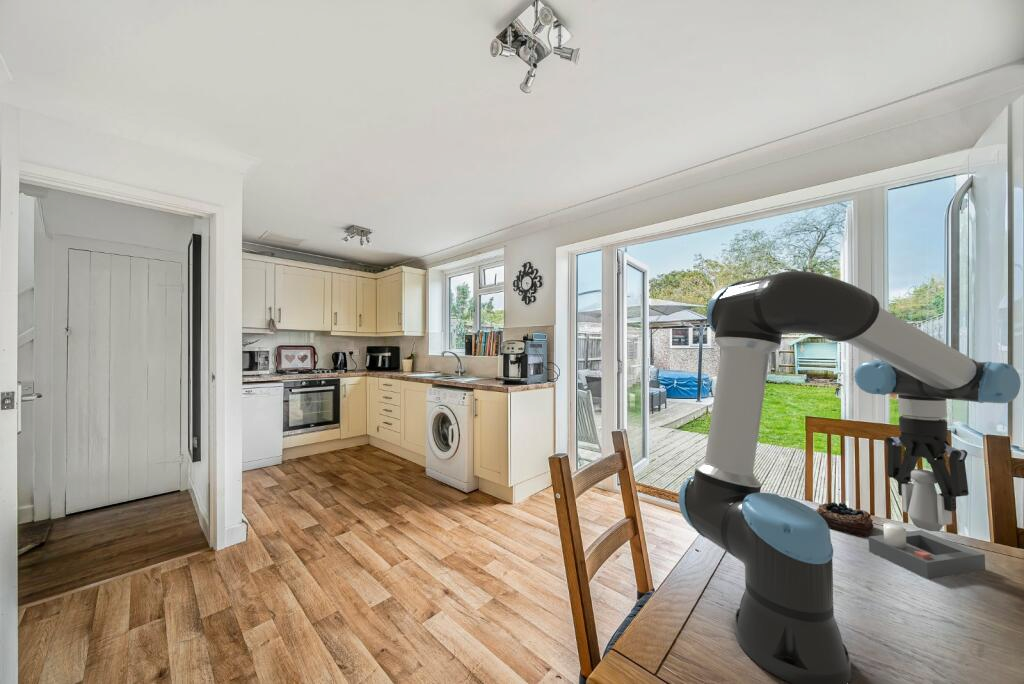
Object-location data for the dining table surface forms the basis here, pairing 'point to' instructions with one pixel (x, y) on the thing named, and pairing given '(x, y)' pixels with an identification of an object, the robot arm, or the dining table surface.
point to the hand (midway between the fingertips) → (926, 517)
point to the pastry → (846, 519)
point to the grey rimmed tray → (925, 553)
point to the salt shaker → (924, 501)
